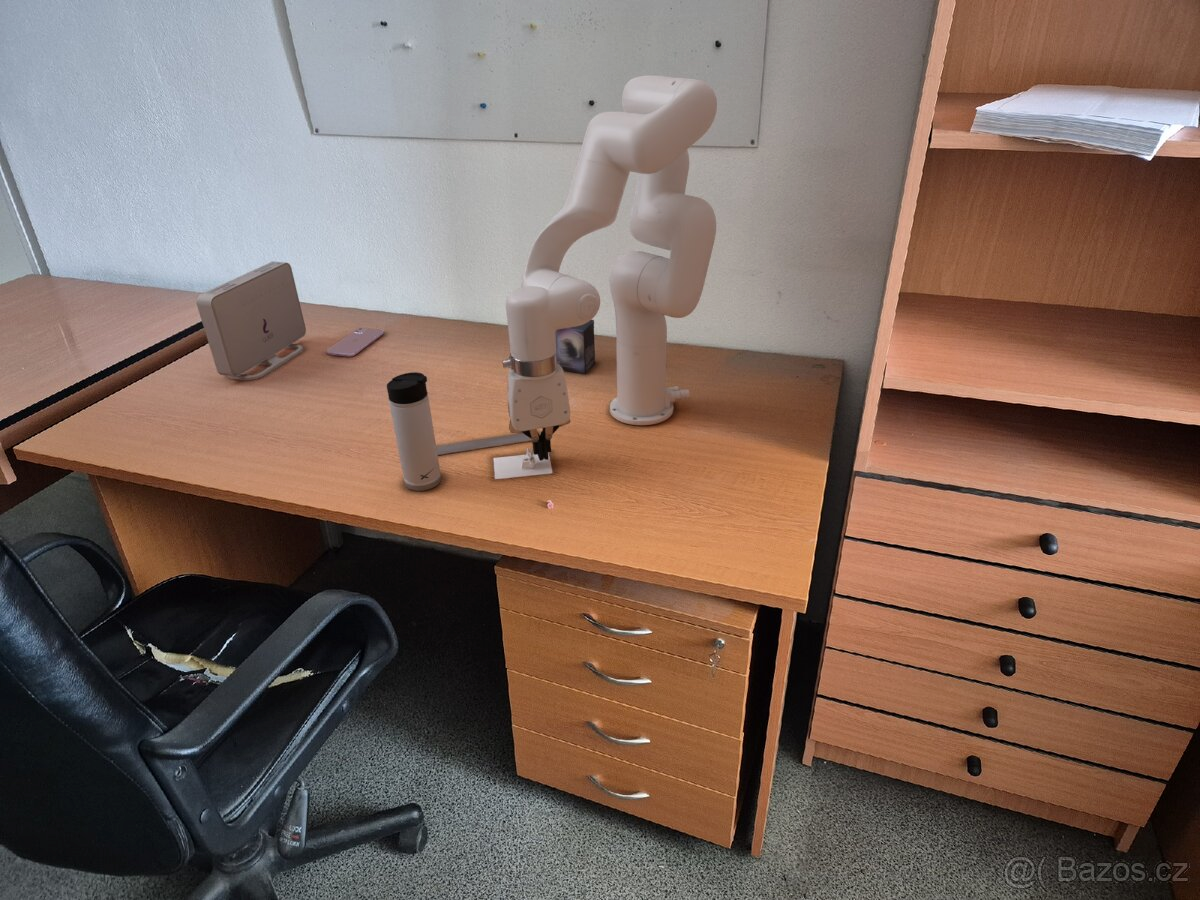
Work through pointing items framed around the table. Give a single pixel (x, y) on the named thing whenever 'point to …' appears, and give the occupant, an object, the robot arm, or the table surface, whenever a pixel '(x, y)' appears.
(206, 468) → the table surface
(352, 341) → the mobile phone
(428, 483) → the travel mug
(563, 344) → the small box
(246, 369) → the network device
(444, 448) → the steel ruler
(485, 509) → the table surface
